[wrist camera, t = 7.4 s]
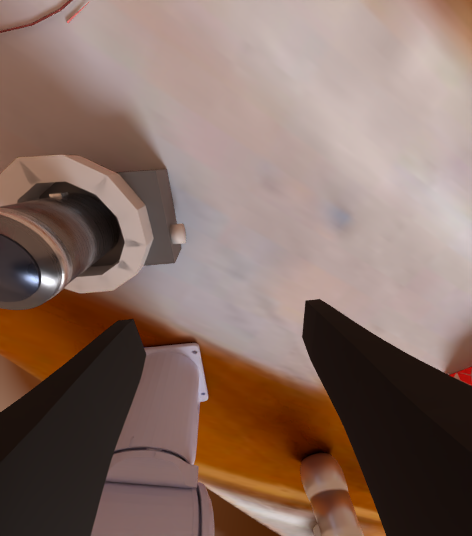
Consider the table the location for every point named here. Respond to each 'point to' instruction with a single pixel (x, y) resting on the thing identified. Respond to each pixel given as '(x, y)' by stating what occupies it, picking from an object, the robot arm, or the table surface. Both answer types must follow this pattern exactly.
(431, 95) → the table surface
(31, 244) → the lens
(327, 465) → the plastic bottle
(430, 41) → the table surface
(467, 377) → the red patterned gift box
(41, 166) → the camera body
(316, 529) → the lumpy-topped squat cylinder
